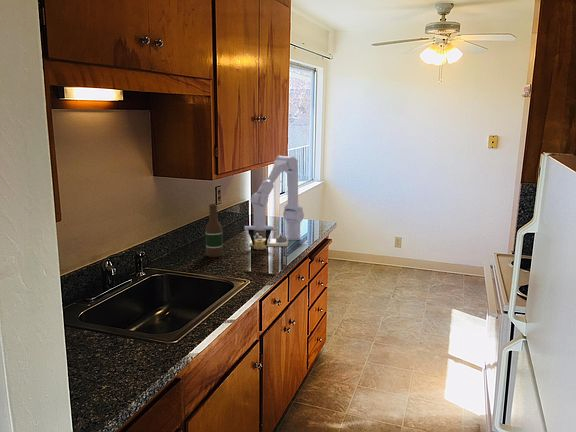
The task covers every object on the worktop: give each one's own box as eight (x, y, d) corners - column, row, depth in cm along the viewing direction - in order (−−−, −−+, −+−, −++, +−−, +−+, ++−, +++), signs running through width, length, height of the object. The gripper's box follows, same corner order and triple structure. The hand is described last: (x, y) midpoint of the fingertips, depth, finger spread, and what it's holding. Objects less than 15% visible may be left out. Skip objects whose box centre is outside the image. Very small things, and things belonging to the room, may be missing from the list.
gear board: (251, 241, 248) (251, 231, 247) (288, 241, 248) (288, 231, 247) (249, 246, 240) (249, 235, 239) (287, 246, 239) (287, 235, 238)
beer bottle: (226, 254, 225) (225, 204, 220) (213, 258, 219) (211, 206, 214) (215, 251, 230) (214, 202, 225) (202, 255, 224) (200, 204, 219)
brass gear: (254, 246, 239) (254, 238, 238) (266, 246, 239) (266, 238, 238) (253, 249, 233) (253, 241, 233) (265, 249, 233) (265, 241, 232)
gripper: (243, 219, 229) (244, 246, 232) (274, 219, 229) (274, 247, 232) (245, 216, 236) (245, 243, 239) (274, 216, 236) (275, 243, 239)
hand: (259, 244), depth 236 cm, fingers closed on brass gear, 6 cm apart
